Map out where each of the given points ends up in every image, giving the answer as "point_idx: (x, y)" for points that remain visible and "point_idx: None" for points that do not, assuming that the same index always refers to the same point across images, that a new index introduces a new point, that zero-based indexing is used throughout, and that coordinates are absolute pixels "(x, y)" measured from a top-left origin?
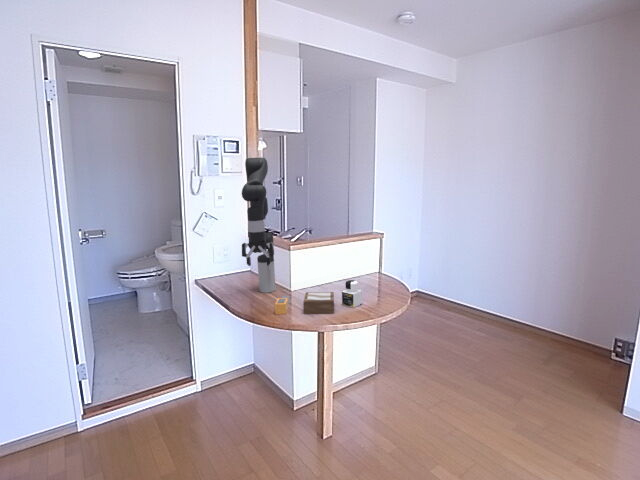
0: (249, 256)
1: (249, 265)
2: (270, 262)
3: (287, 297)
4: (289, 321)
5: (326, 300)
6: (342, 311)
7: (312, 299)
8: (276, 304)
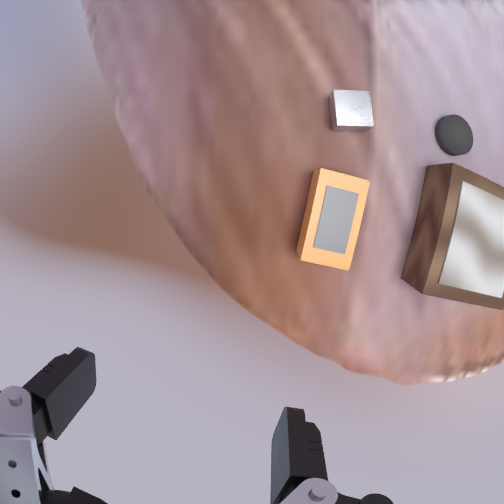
0: (38, 424)
1: (91, 390)
2: (317, 437)
3: (364, 116)
4: (337, 336)
5: (490, 297)
6: None
7: (457, 282)
8: (307, 261)
